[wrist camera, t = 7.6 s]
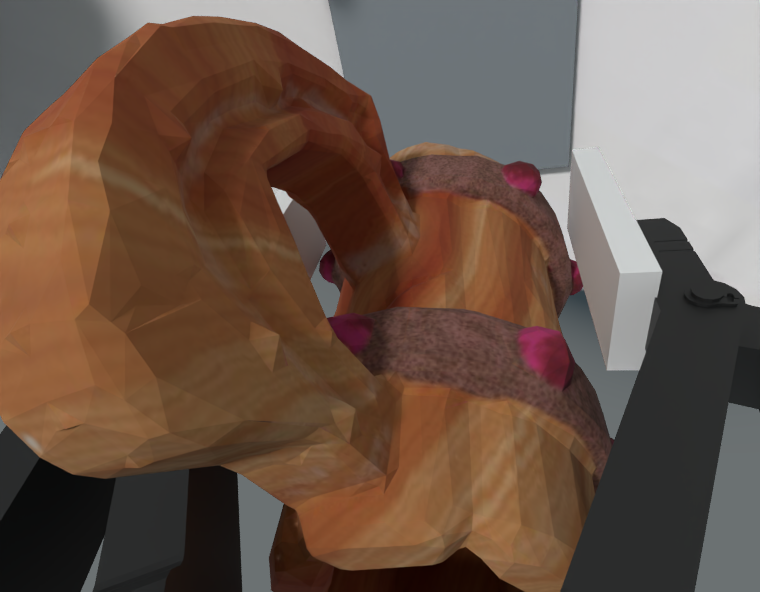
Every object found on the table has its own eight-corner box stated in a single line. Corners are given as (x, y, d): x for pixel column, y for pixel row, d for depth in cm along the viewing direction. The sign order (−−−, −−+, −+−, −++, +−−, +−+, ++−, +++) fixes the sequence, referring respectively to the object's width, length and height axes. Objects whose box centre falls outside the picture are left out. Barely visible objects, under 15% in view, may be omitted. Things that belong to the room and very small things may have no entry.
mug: (595, 275, 20) (765, 776, 8) (423, 337, 24) (374, 752, 12) (416, -113, 14) (44, -300, 2) (215, 54, 17) (-355, 359, 5)
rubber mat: (367, 182, 36) (366, 186, 36) (322, -43, 28) (319, -43, 28) (567, 162, 33) (568, 166, 33) (581, -99, 25) (583, -99, 24)
